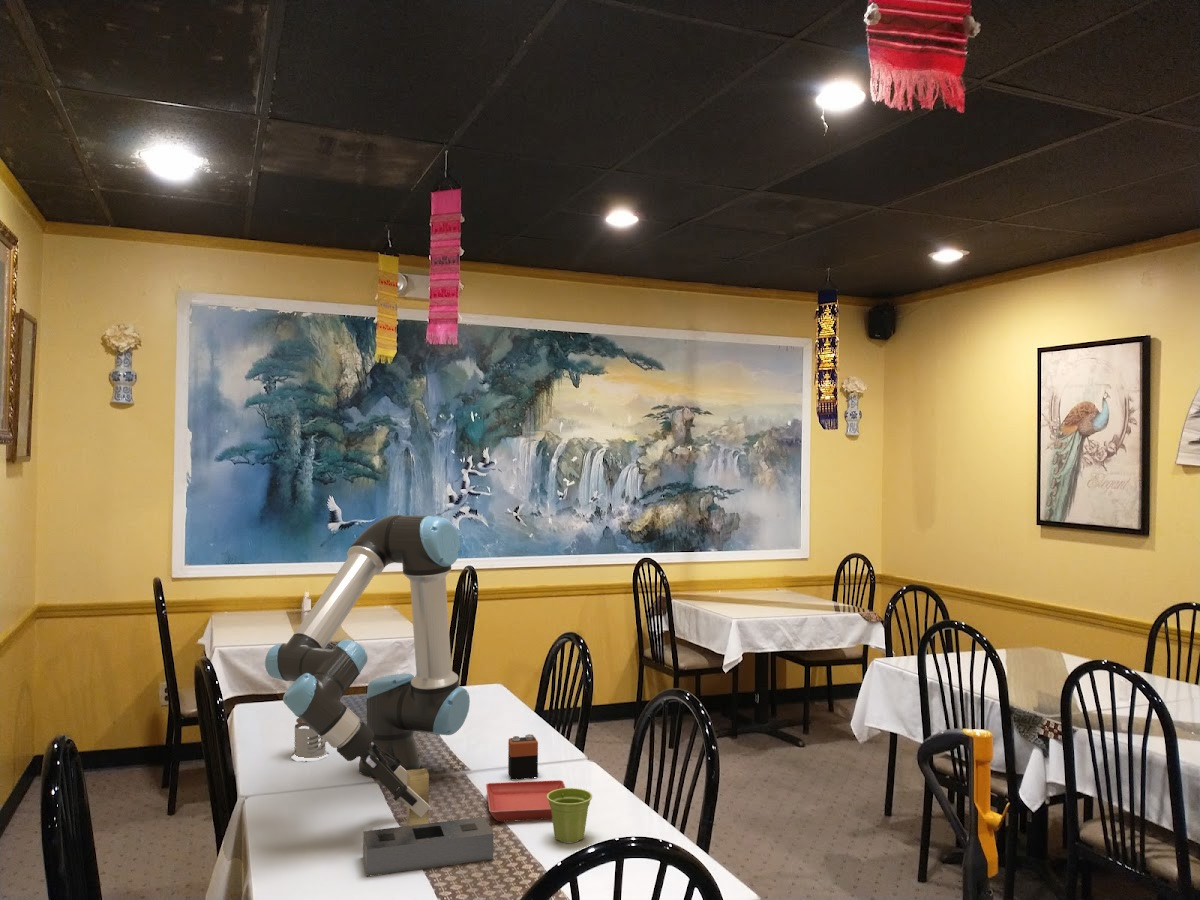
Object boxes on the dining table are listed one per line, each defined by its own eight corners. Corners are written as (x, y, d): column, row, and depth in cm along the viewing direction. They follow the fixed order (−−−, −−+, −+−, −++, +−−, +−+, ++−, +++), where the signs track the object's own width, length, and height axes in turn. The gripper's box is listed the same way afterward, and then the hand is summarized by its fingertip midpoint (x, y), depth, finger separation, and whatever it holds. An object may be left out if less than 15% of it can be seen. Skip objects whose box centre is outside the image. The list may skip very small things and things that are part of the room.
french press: (282, 759, 239) (283, 662, 240) (311, 746, 250) (312, 654, 251) (312, 763, 236) (313, 666, 236) (341, 750, 246) (342, 657, 247)
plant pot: (545, 829, 194) (546, 788, 195) (590, 827, 195) (590, 786, 195) (547, 847, 185) (547, 804, 185) (593, 846, 186) (593, 803, 186)
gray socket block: (366, 876, 172) (367, 849, 172) (363, 856, 180) (363, 830, 180) (493, 859, 179) (493, 833, 179) (483, 841, 188) (484, 816, 188)
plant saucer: (562, 793, 217) (562, 778, 217) (573, 822, 199) (573, 806, 199) (485, 797, 214) (485, 782, 214) (489, 827, 196) (489, 811, 196)
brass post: (409, 834, 191) (409, 776, 192) (406, 826, 195) (407, 770, 195) (428, 831, 193) (428, 774, 193) (425, 824, 197) (426, 768, 197)
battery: (538, 778, 226) (538, 737, 226) (510, 780, 224) (510, 739, 224) (534, 772, 230) (535, 732, 230) (507, 774, 228) (508, 734, 229)
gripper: (332, 732, 200) (401, 794, 205) (337, 768, 177) (415, 837, 181) (357, 705, 202) (425, 767, 207) (366, 738, 178) (443, 807, 183)
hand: (421, 800), depth 194 cm, fingers open, 13 cm apart
